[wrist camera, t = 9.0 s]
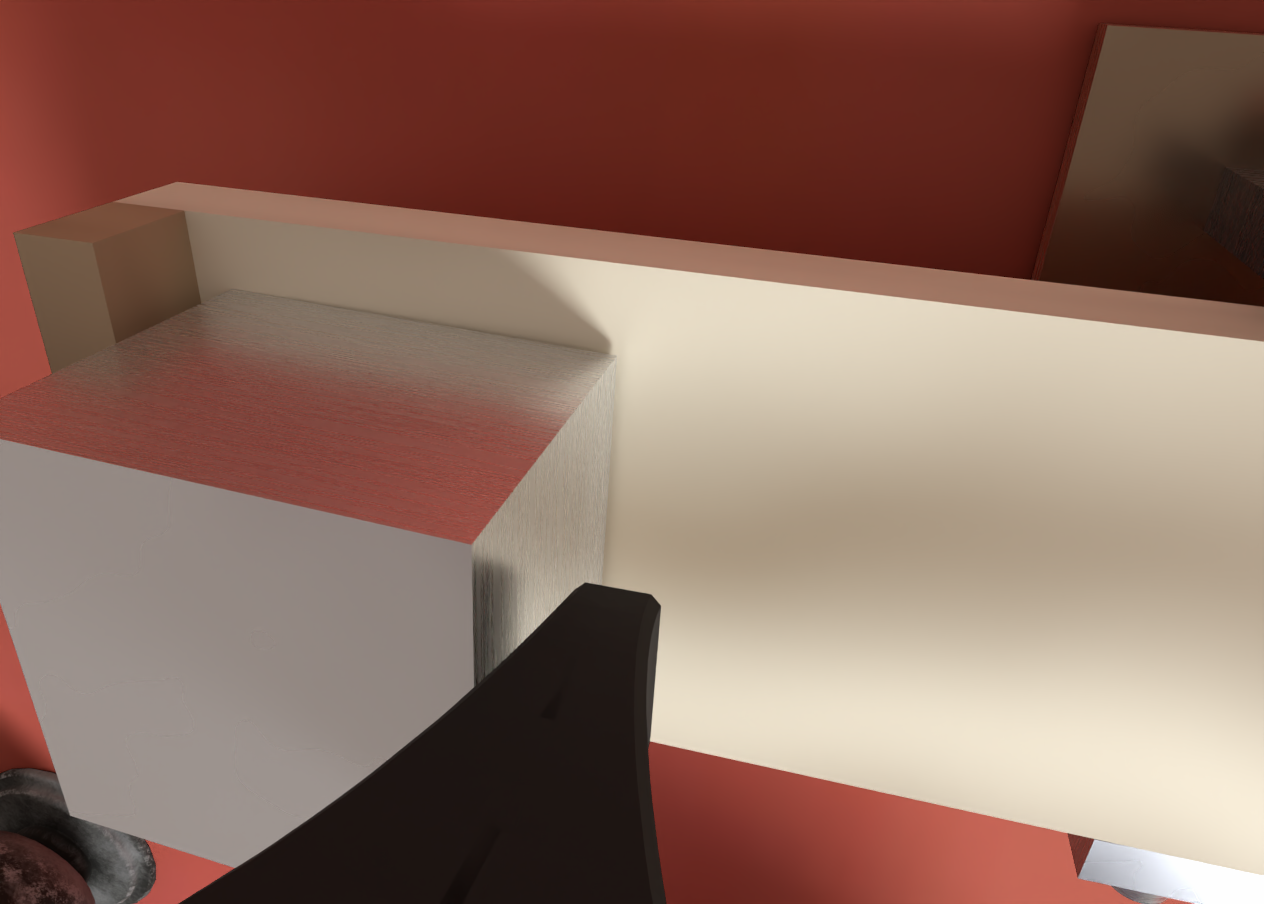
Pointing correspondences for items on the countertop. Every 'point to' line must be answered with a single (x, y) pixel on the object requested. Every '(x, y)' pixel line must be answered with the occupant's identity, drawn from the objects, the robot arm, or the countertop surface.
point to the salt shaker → (63, 849)
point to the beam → (841, 490)
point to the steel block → (284, 551)
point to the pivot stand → (1163, 261)
